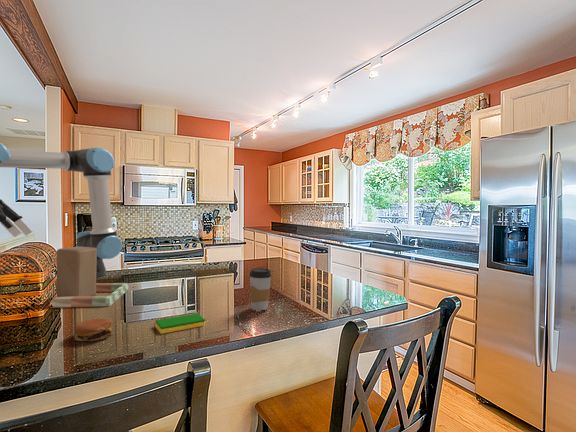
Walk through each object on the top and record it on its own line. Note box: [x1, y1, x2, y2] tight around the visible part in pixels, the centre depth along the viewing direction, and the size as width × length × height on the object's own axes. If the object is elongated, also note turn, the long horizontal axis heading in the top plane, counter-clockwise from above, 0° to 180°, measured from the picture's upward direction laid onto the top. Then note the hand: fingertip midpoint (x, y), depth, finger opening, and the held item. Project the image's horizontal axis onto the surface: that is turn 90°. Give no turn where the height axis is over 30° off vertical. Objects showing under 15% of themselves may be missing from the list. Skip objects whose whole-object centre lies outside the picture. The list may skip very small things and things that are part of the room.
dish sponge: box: [154, 313, 206, 335], centre depth 103 cm, size 7×14×2 cm, turn 126°
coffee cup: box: [249, 267, 272, 312], centre depth 123 cm, size 8×8×15 cm
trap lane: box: [52, 282, 129, 308], centre depth 130 cm, size 24×20×3 cm
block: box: [55, 245, 97, 297], centre depth 129 cm, size 10×10×20 cm
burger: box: [73, 318, 113, 342], centre depth 93 cm, size 10×9×5 cm
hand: (24, 234), depth 124 cm, fingers open, 13 cm apart
